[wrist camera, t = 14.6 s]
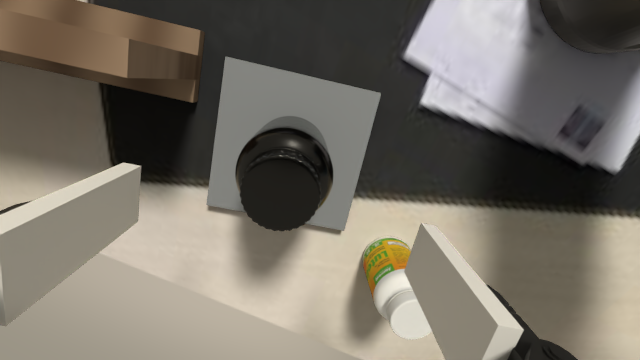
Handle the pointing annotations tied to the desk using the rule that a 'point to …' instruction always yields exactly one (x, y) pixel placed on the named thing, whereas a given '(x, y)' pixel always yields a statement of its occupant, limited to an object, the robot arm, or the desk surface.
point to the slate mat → (291, 100)
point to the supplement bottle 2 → (394, 287)
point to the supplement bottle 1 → (284, 173)
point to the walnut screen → (102, 46)
